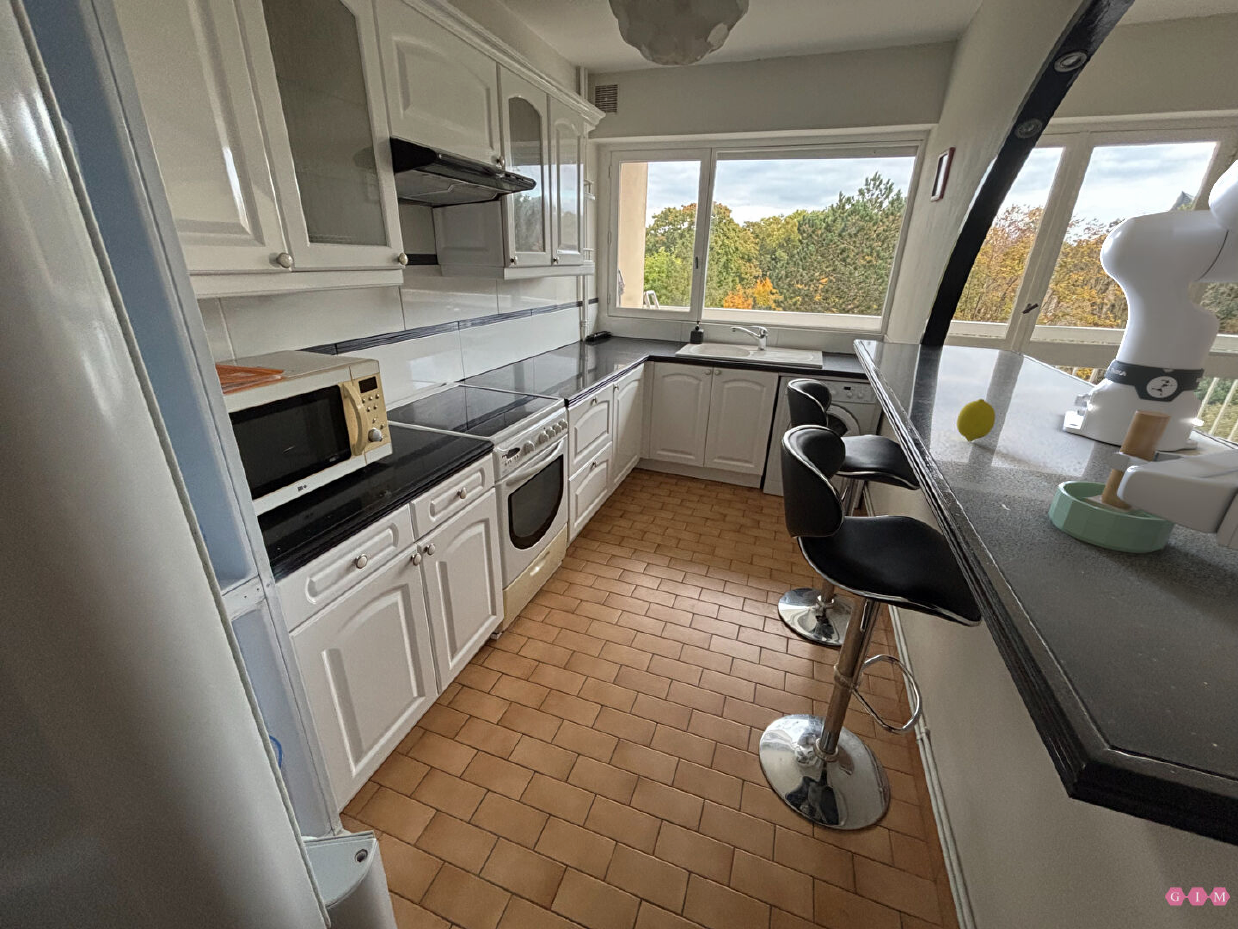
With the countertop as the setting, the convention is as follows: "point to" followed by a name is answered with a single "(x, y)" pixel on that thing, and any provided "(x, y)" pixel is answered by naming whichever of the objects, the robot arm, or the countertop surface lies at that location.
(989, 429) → the lemon
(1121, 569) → the countertop surface
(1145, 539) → the bowl
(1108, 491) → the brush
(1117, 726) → the countertop surface
